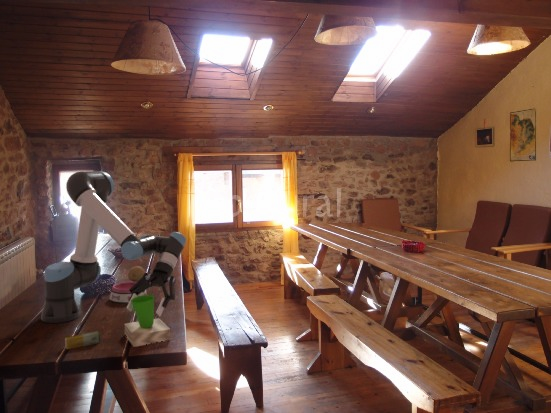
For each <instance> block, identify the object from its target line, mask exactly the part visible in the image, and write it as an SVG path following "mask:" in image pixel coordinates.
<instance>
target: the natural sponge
mask: <svg viewBox="0 0 551 413" xmlns="http://www.w3.org/2000/svg"><path fill="white" fill-rule="evenodd" d="M145 273H146V270H145V269H144V268H143V267H142V266H140V265H139V266H138V265H137V266H135V265H134V266H132V267H131V268H130V269H129V271H128V274H127V279H128V280H130V282H138V281H139V280H140V279H141V278H142V277H143V275H144V274H145Z"/></svg>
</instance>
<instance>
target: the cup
mask: <svg viewBox="0 0 551 413" xmlns="http://www.w3.org/2000/svg"><path fill="white" fill-rule="evenodd" d="M131 302H132V304H133V309H134V312H135V316H136V318H137V322H139V325H140V326H141V328H147V327H150V326H152V325H153V323H154V319H155V318H154V315H155V314H154V313H155V312H154V310H155V295H153V294H147V295H142V296H138V297H135V298H133V299H132V300H131Z"/></svg>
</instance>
